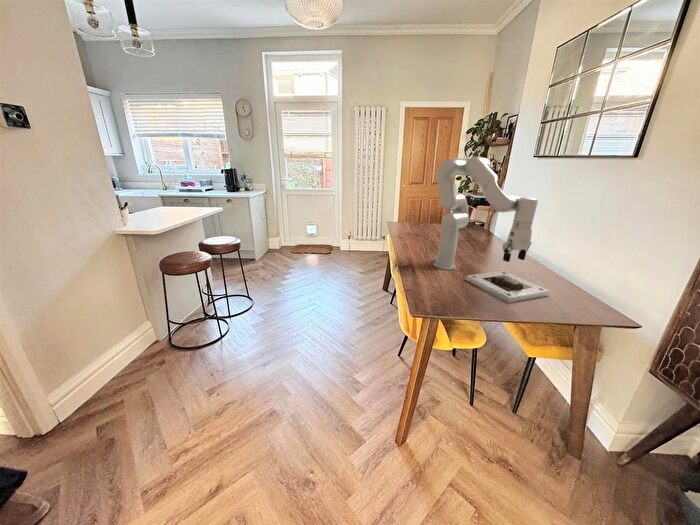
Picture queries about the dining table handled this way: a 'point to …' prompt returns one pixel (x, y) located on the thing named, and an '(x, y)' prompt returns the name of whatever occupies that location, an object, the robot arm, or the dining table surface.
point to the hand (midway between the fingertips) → (513, 260)
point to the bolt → (506, 284)
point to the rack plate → (511, 296)
